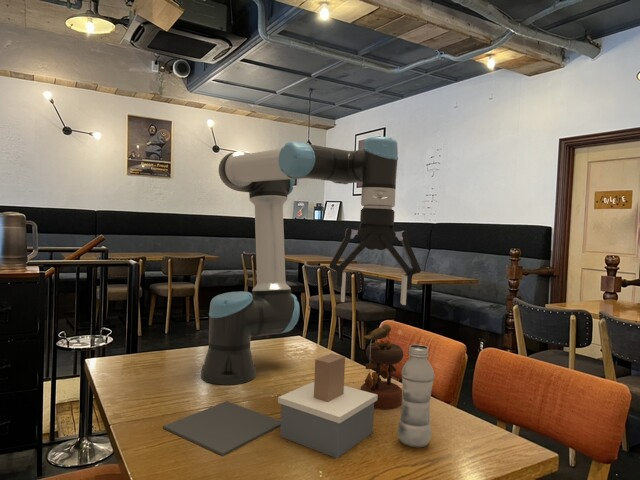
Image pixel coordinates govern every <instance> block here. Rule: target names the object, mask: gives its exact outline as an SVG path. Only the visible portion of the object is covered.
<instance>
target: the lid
mask: <svg viewBox="0 0 640 480" xmlns="http://www.w3.org/2000/svg"><path fill="white" fill-rule="evenodd" d="M345 367H346V356H344V355H340V354H336V353H329V354H326V355H324V356H321V357H318V358H316V359H314V381H312V382H310V383H307V384H304V385H302V386H301V387H298V388H295V389H293V390H291V391H289V392H287V393H284V394H282V395H280V396H278V397H277V403H278V404H280V405H281V404H283V405H286V406H289V407H292V408H295V409H298V410H301V411H304V412H307V413H310V414H313V415H316V416H319V417H322V418H325V419H328V420H331V421H334V422H337V423H341V422H343V421H344V420H346V419H348V418H349V417H351V416H352V415H354V414H356V413H357V412H359V411H361V410H362V409H364V408H366V407H367V406H369V405H370V404H372V403H374V402H375V401H377V398H378V395H377V394H373V393H370V392H366V391H362V390H361V389H358V388H355V387H351V386H346V385H345V371H346V369H345Z"/></svg>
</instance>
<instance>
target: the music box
mask: <svg viewBox="0 0 640 480" xmlns="http://www.w3.org/2000/svg"><path fill="white" fill-rule="evenodd" d="M391 330H392V328H391V325H389V324H388V323H385V324H382V326H381V327H377V328H375V329H373V330H372V331H370V332H368V333H367V334H366V335H362V338H364V339H366V340H370V343H369V345H367V347H366V349H365V355H366V357H367V358H368V360H369V363H365V370H369V371H368V373H367V376H366V377H365V380H364V383H363V384H362V385H361V386H360V390H362V391H366V392H370V393H373V394H377V395H378V398H377V401H375V402H374V409H377V410H393V409H397V408H400V407H401V406H402V405H403V388H401V387H400V385H398V384H396V383H394V382H392V373H394V372H397V368H396V367H395V366H394V365H396V364H399V363H400V362H401V361H402V359H403V358H404V350H403V348H402V347H401V346H400V345H398V344H395V343H391V340H390V339H389V340H386V341H385V338H386V337H388V338H390V333H391ZM373 340H374V342H372V341H373ZM378 340H380V341H379V342H378ZM372 369H375V371H373V372H372V373H371V370H372ZM382 379H385V380H386V381H385V380H382Z"/></svg>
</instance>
